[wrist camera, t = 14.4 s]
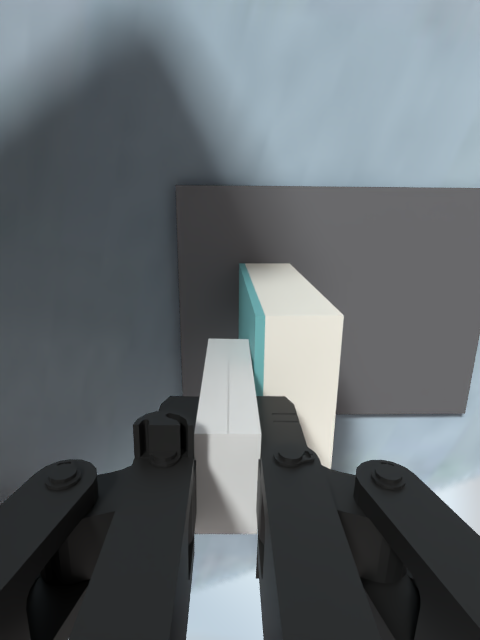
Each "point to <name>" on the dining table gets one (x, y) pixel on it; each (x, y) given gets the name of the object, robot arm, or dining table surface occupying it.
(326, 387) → the teal white block
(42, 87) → the dining table surface
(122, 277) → the dining table surface
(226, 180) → the dining table surface
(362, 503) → the robot arm
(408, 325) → the mat
